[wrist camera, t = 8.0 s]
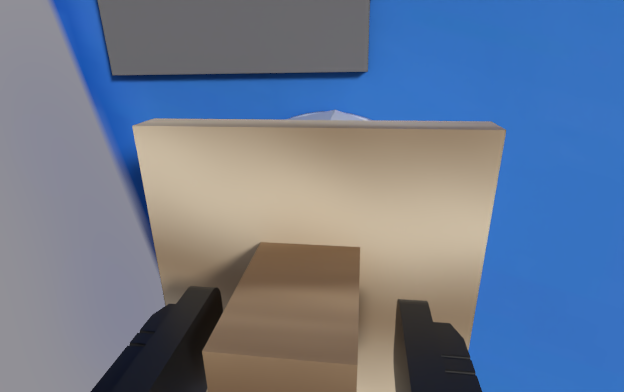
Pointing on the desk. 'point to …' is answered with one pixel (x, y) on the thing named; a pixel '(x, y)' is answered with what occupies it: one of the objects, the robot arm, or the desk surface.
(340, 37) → the mat
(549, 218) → the desk surface
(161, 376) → the robot arm
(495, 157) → the lid
